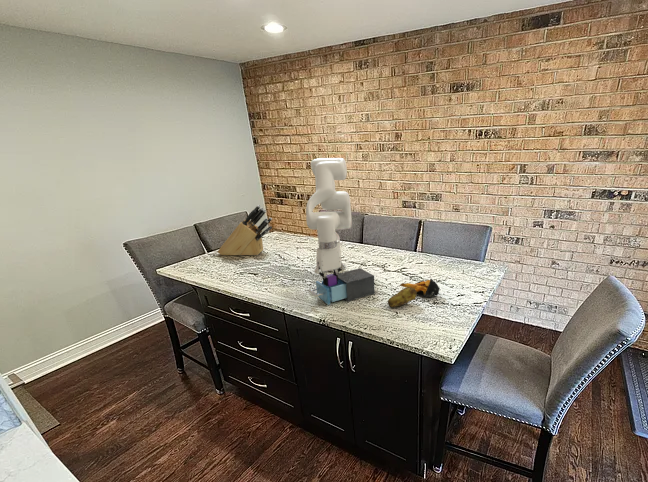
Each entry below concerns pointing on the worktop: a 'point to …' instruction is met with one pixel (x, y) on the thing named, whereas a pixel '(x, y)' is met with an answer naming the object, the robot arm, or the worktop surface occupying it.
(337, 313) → the worktop surface
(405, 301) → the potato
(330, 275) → the purple cube
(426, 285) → the fried shrimp in bowl
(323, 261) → the robot arm
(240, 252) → the knife block
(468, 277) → the worktop surface
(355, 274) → the grey drawer box
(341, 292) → the blue drawer
